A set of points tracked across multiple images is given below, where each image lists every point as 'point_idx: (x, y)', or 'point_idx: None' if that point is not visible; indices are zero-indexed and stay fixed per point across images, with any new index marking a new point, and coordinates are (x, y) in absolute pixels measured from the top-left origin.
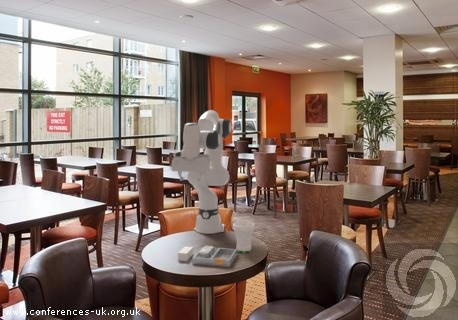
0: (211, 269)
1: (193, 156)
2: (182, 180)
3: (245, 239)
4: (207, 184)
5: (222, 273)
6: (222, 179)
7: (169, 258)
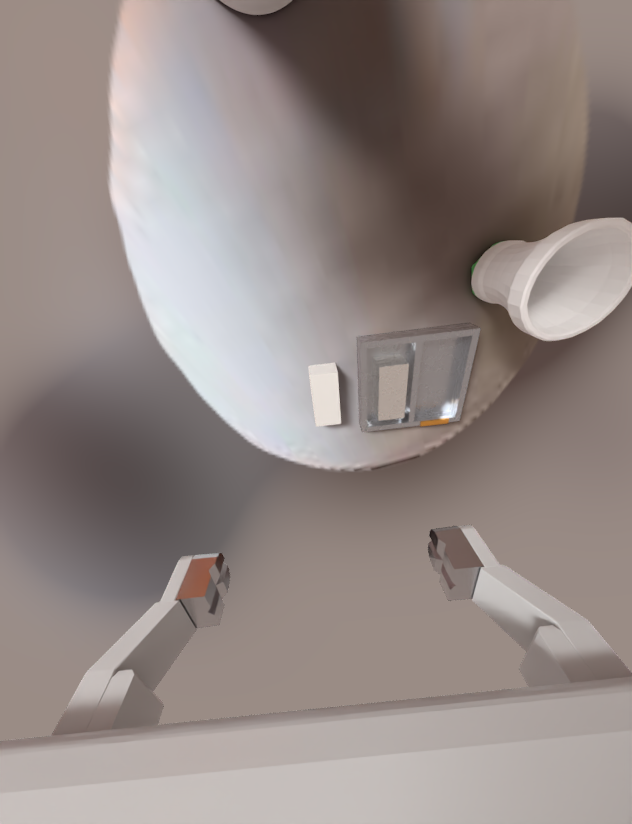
0: (411, 434)
1: None
2: (226, 571)
3: (533, 306)
4: None
5: (438, 444)
6: None
7: (287, 410)
